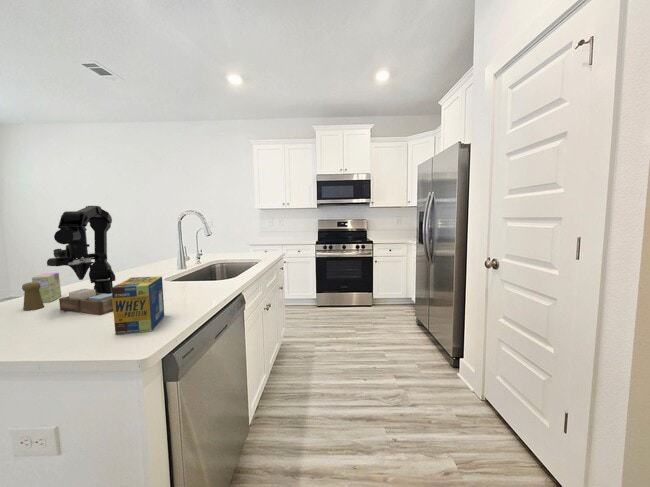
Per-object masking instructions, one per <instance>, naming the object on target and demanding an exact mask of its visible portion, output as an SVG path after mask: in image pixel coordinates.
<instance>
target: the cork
mask: <svg viewBox="0 0 650 487" xmlns="http://www.w3.org/2000/svg"><path fill="white" fill-rule="evenodd" d="M21 289H22V291H24V293H23V294H24V296H23V308H22V311H23V312H31V310H32V311H36V310H41V309H43V308H45V305H44V303H43V301H42V298H41V295H40V292H39V289H40V284H39V283H38V282H32V281H31V282H26V283H24V284H22V287H21Z"/></svg>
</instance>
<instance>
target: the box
mask: <svg viewBox="0 0 650 487" xmlns="http://www.w3.org/2000/svg"><path fill="white" fill-rule="evenodd" d="M60 280H61V279H60V272H47V273H41V274H39V275H36V276H33V277H31V282H38V283H39V284H40V289H39V292H40V295H41V298H42V301H43V304H45V303H51V302H54V301H55V300H57V299H59V298H62V290H61V281H60Z"/></svg>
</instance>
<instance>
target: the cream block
mask: <svg viewBox="0 0 650 487" xmlns="http://www.w3.org/2000/svg"><path fill="white" fill-rule="evenodd" d="M68 296H69V298H71V299H84V298H88V297H92V296H96V292H95V289H94V288H82V289H77V290H74V291H69V292H68Z"/></svg>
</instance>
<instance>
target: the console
mask: <svg viewBox="0 0 650 487" xmlns="http://www.w3.org/2000/svg"><path fill="white" fill-rule="evenodd" d="M101 294H104V293H96V296H97V295H101ZM92 297H93V296H92ZM58 299H59V301H58V302H59V311H60V312H61V311H63V312H69V313H78V314H79V313H80V314H86V315H95V316H102V315H106V314H109V313H111V312H113V300H112V298H111V299H107V300H104V301H91V300H89V297H88V298H84V299H71V298H69V295H68V296H64V297H59V298H58Z"/></svg>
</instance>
